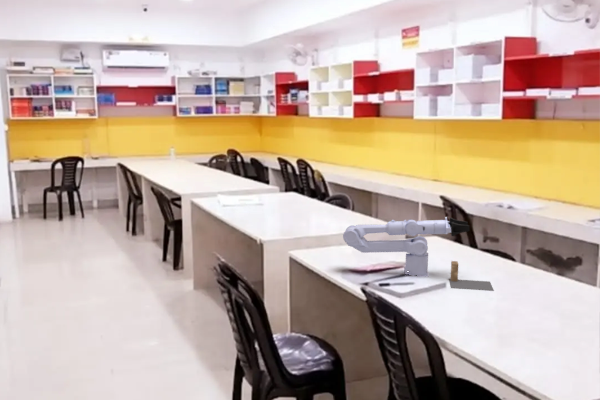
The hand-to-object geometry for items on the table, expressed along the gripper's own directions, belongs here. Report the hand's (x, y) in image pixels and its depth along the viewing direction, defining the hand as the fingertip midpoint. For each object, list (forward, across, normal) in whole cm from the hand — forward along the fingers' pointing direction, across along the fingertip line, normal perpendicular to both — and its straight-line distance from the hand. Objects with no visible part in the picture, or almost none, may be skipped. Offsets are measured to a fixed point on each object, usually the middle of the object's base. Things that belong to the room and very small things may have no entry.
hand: (468, 226), depth 247 cm
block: (-7, -6, +20) cm, 22 cm away
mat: (-1, -12, +21) cm, 24 cm away
